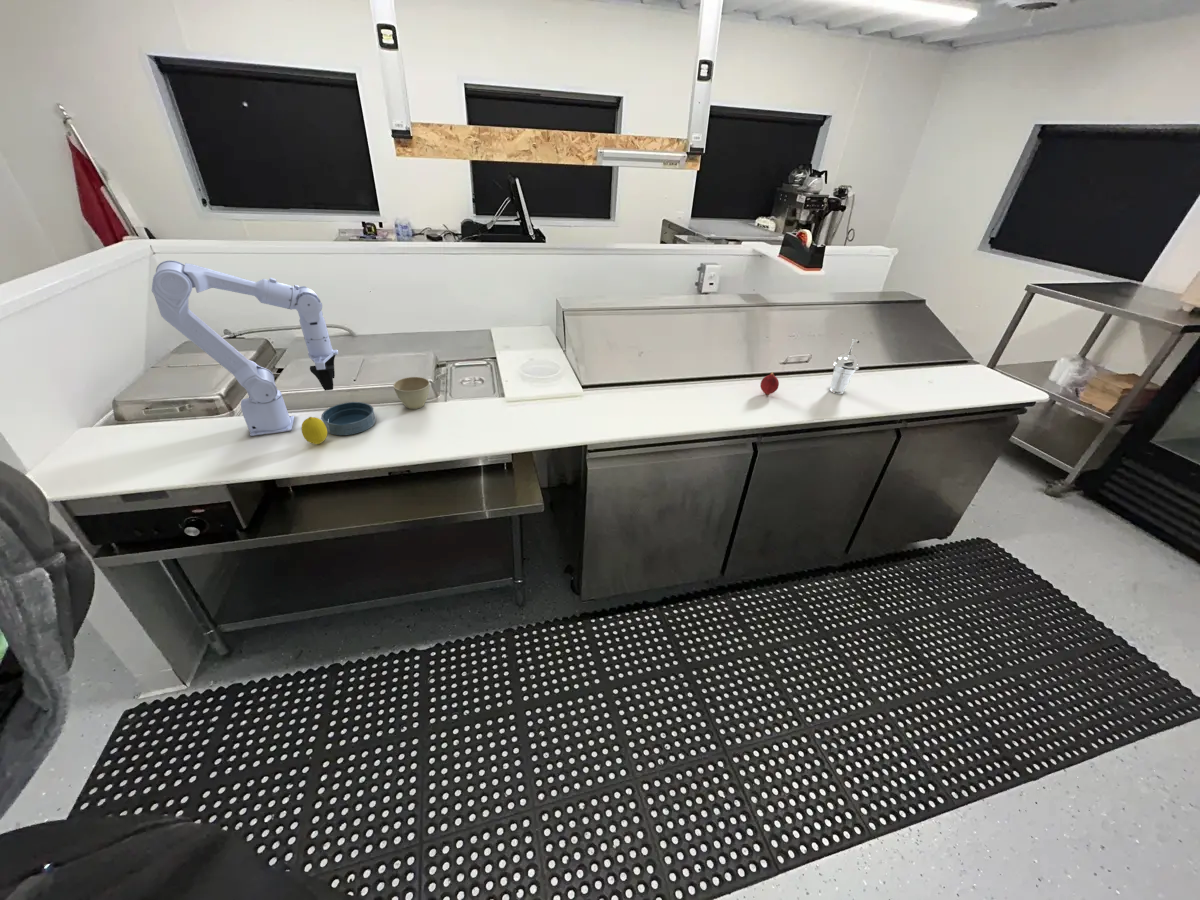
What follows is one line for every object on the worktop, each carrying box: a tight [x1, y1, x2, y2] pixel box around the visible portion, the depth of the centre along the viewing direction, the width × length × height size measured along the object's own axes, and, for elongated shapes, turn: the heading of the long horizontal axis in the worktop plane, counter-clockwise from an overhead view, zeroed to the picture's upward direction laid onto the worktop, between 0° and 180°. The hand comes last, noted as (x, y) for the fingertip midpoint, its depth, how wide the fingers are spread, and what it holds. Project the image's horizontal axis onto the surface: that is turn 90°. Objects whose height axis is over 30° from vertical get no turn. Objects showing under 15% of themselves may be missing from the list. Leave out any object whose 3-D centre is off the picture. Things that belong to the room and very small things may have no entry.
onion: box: [759, 371, 780, 396], centre depth 162 cm, size 6×6×8 cm
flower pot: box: [392, 376, 431, 410], centre depth 144 cm, size 10×10×7 cm
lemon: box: [301, 416, 328, 445], centre depth 124 cm, size 6×6×8 cm
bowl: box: [320, 401, 377, 436], centre depth 134 cm, size 13×13×4 cm
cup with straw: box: [829, 338, 860, 395], centre depth 164 cm, size 8×9×20 cm
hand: (329, 383), depth 134 cm, fingers open, 7 cm apart
